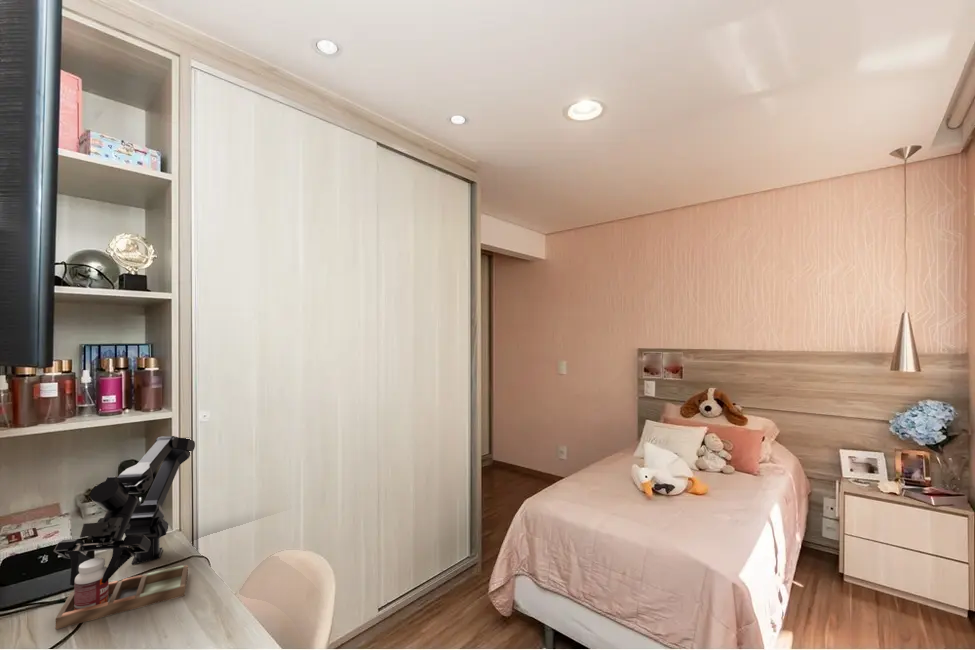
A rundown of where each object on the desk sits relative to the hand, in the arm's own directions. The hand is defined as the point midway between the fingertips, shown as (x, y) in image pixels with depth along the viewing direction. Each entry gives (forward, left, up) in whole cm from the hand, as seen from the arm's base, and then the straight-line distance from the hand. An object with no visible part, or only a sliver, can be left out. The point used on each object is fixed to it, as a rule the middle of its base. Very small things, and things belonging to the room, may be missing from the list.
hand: (87, 584), depth 104 cm
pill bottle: (-1, 0, -7) cm, 7 cm away
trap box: (-1, +7, -7) cm, 10 cm away
